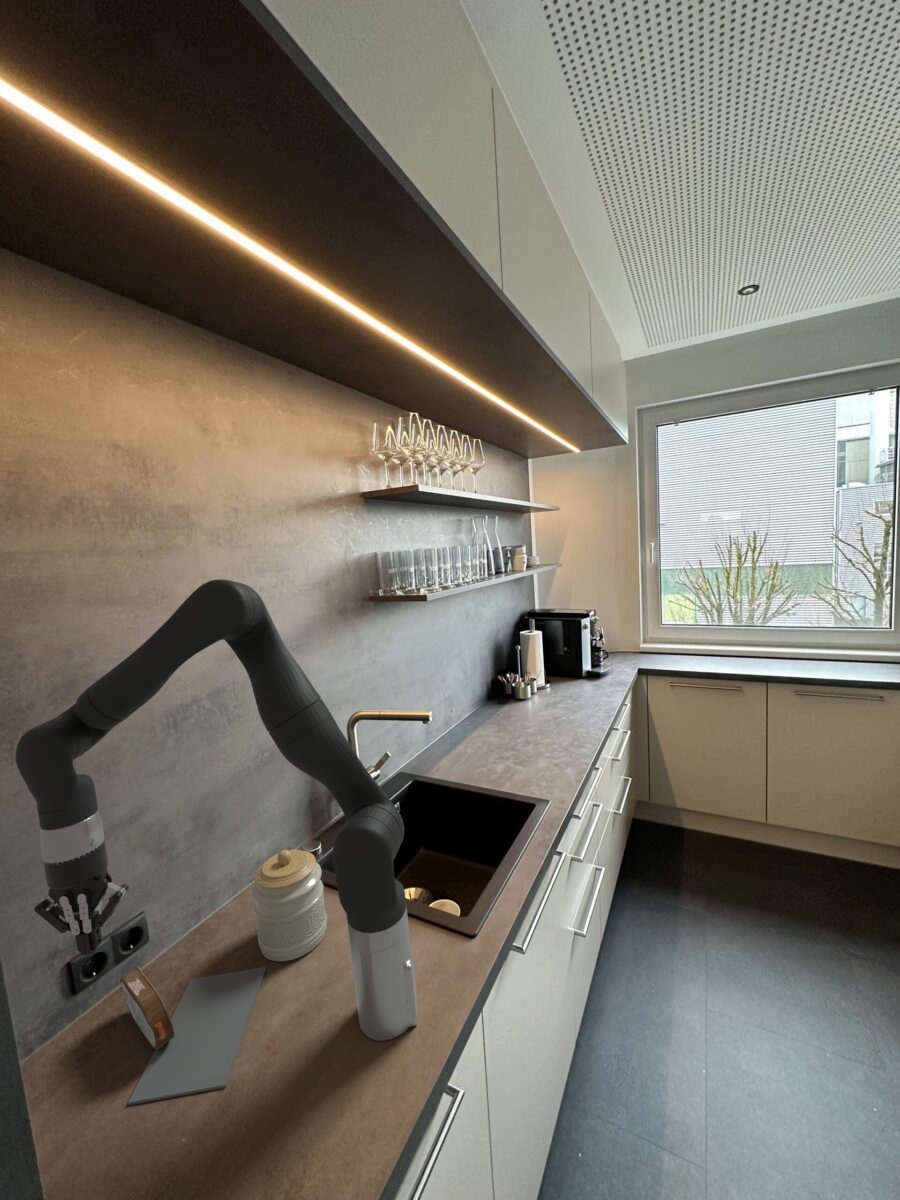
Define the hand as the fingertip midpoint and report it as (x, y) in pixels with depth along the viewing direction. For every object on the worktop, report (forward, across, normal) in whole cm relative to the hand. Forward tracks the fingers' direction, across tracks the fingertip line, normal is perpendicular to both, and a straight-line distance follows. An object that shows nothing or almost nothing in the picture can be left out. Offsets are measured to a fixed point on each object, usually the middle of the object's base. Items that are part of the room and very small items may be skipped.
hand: (90, 950), depth 75 cm
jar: (+15, -26, -16) cm, 34 cm away
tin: (+15, -7, 0) cm, 17 cm away
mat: (+15, -16, +1) cm, 22 cm away
